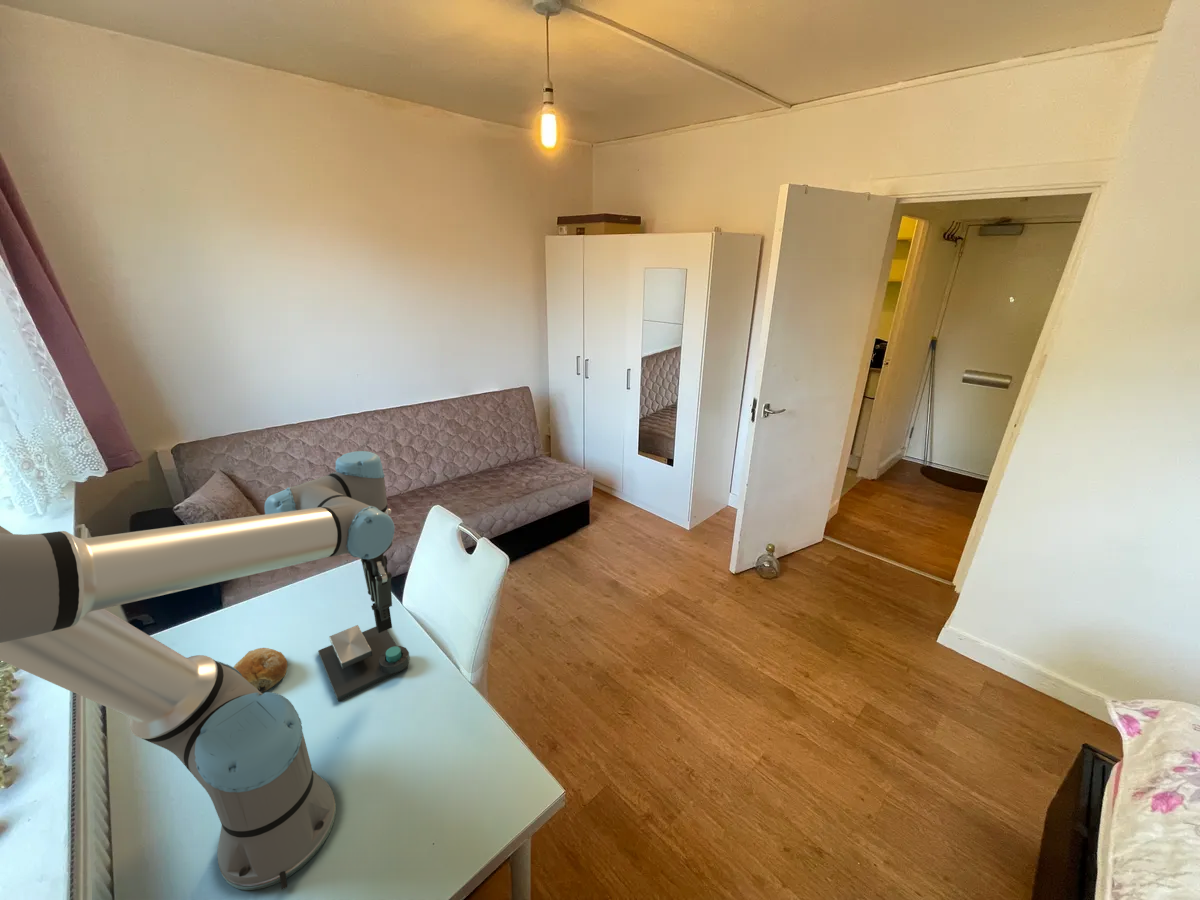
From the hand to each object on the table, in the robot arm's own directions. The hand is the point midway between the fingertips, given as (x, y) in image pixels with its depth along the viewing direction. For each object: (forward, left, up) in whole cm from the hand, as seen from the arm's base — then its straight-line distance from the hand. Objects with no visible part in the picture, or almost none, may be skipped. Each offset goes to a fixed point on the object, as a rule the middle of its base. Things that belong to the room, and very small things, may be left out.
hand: (384, 628), depth 102 cm
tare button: (0, -1, -8) cm, 8 cm away
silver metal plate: (+8, +6, -8) cm, 12 cm away
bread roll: (+14, +22, -11) cm, 28 cm away
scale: (+6, +4, -11) cm, 13 cm away
